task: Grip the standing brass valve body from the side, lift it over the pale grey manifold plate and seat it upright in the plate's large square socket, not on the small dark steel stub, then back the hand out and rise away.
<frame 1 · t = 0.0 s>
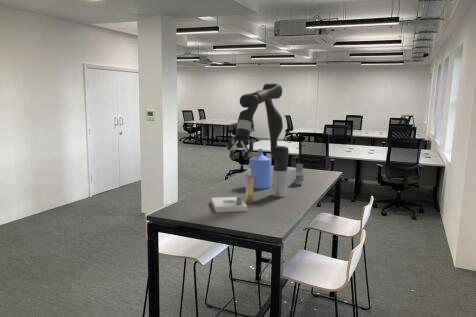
hand: (238, 158, 204), 31 cm above the table, tool tilted 20°, fingers open, 8 cm apart
water jug: (259, 187, 283), on the table
manifold plate: (228, 206, 228), on the table
faucet: (299, 182, 301), on the table
valve: (249, 202, 238), on the table
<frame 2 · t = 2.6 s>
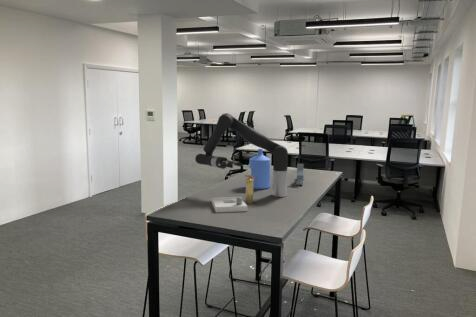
hand: (237, 165, 242), 22 cm above the table, tool horizontal, fingers open, 8 cm apart
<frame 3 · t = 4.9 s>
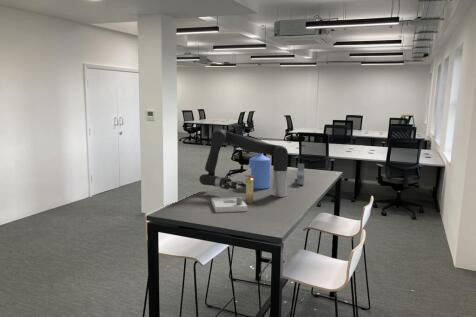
hand: (240, 186, 242), 9 cm above the table, tool horizontal, fingers open, 8 cm apart
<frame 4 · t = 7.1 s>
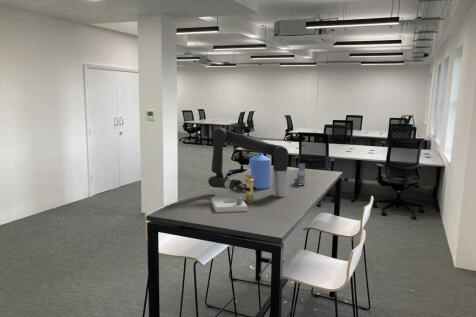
hand: (252, 189, 234), 9 cm above the table, tool horizontal, fingers closed on valve, 4 cm apart
valve: (249, 202, 238), on the table, touching gripper
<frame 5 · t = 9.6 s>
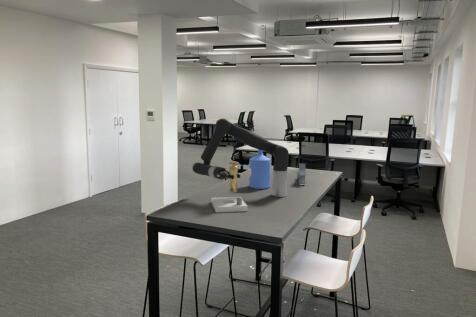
hand: (236, 176, 226), 18 cm above the table, tool horizontal, fingers closed on valve, 4 cm apart
valve: (233, 190, 229), point 9 cm above the table, touching gripper
when the fingers open (10 cm above the table, at t = 12.2 s): valve drops 1 cm, resting in manifold plate.
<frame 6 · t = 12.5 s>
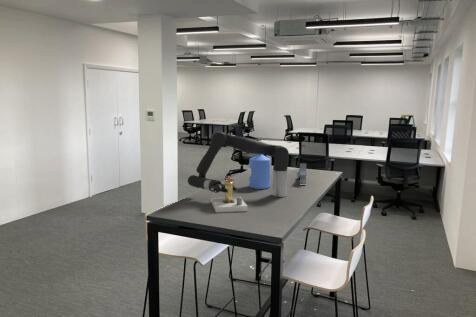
hand: (231, 189, 225), 10 cm above the table, tool horizontal, fingers open, 7 cm apart
valve: (228, 206, 228), resting in manifold plate
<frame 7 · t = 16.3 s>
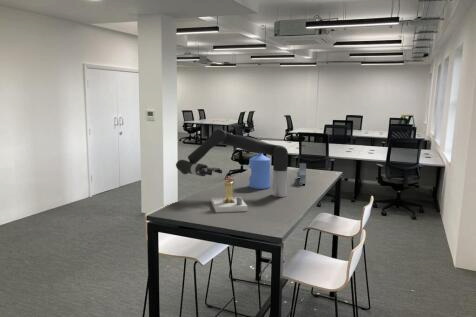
hand: (216, 172, 233), 19 cm above the table, tool horizontal, fingers open, 8 cm apart
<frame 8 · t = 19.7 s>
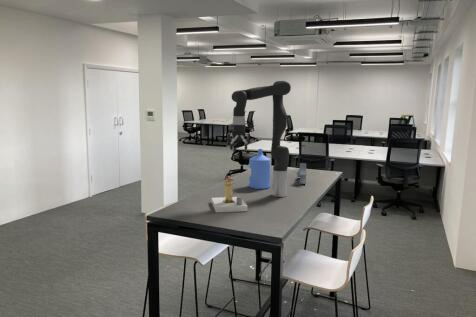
hand: (238, 150, 238), 32 cm above the table, tool pointing down, fingers open, 8 cm apart
at the end: valve 0.1 cm off-centre on the manifold plate, point 0.0 cm above the manifold plate's base; valve tilted 1°; the gripper is holding nothing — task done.
